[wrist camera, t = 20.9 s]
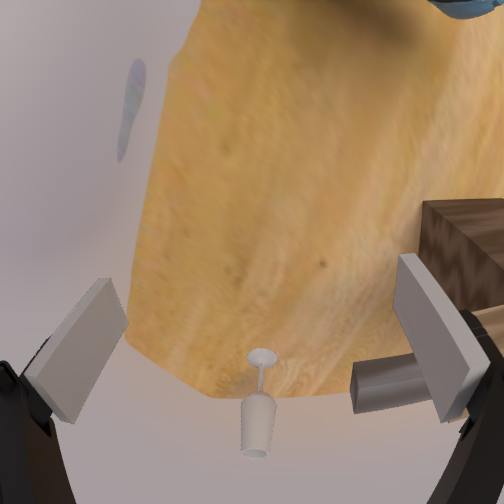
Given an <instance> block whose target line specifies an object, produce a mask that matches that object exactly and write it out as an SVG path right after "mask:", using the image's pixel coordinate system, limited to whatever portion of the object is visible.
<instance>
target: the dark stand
mask: <svg viewBox="0 0 504 504" xmlns="http://www.w3.org/2000/svg"><path fill="white" fill-rule="evenodd" d="M418 258H419V259H420V260H421V262H422V263H423V264H424V265H425V267H426V268H427V269H428V271H429V272H430V273H431V275H432V276H433V277H434V278H435V280H436V281H437V283H438V284H439V285H440V287H441V288H442V289H443V291H444V292H445V293H446V295H447V296H448V298H449V299H450V300H451V302H452V303H453V305H454V306H455V308H456V309H457V311H458V310H463V309H467V310H468V311H470V312H475V311H479V310H484V309H488V308H492V307H497V306H501V305H504V199H503V198H494V199H457V200H431V201H423V212H422V225H421V236H420V246H419V255H418Z"/></svg>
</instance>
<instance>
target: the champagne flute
mask: <svg viewBox="0 0 504 504" xmlns="http://www.w3.org/2000/svg"><path fill="white" fill-rule="evenodd" d="M247 360H248V362H249V363H250V364H251V365H252V366H254V367H257V368H259V372H258V384H257V391H255V392H252V393H250V394H248V395H247V396H246V397H245V398H244V399H243V401H242V403H241V454H242V456H244V457H246V458H249V459H264V458H267V457H268V456H269V451H270V445H271V438H272V432H273V426H274V419H275V413H276V402H275V400H274V399H273V398H272V397H271V396H270V395H269V394H267V393H266V392H264V391H263V381H264V368H269V367H271V366H273V365H274V364H275V363H276V362H277V355H276V354H275V353H274V352H273V351H272V350H270V349H266V348H257V349H254V350H252V351H250V352H249V353H248V355H247Z"/></svg>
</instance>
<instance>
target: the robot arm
mask: <svg viewBox="0 0 504 504" xmlns="http://www.w3.org/2000/svg"><path fill="white" fill-rule="evenodd" d="M427 1H429V2H430V3H432V4H434V5H435V6H436V7H437V8H438V9H439V10H441V11H442V12H443V13H444V14H445V15H447V16H449V17H452V18H454V19H471V18H475V17H479V16H482V15H484V14H487V13H489V12H491V11H493V10H494V8H495V7H496V6H501V5H502V4H503V3H504V0H427ZM393 308H394V310H395V313H396V315H397V317H398V319H399V321H400V323H401V325H402V328H403V330H404V332H405V334H406V336H407V339H408V341H409V343H410V345H411V348H412V350H413V352H414V355H415V357H416V359H417V362H418V364H419V367H420V369H421V372H422V374H423V376H424V379H425V381H426V384H427V387H428V389H429V392H430V394H431V397H432V400H433V402H434V405H435V408H436V411H437V413H438V416H439V419H440V422H441V423H443V422H447V421H450V420H453V419H457V418H460V416H461V415H462V413H463V412H464V410H465V408H467V411H468V413H469V415H470V416H469V417H468V419H467V420H466V422H465V423H464V425H463V426H462V428H461V429H460V431H459V433H461V432H462V433H461V436H460V438H459V441H458V443H457V445H456V448H455V450H454V452H453V454H452V456H451V458H450V460H449V463H448V465H447V467H446V469H445V471H444V473H443V475H442V477H441V479H440V480H439V482H438V484H437V486H436V488H435V490H434V492H433V493H432V495H431V497H430V498H429V501H428V502H427V504H496V503H497V500H498V498H499V496H500V493H501V490H502V488H503V485H504V357H503V355H502V354H501V352H500V351H499V349H498V348H497V346H496V344H495V343H494V341H493V340H492V338H491V337H490V335H488V332H487V331H486V329H485V328H483V325H482V324H481V322H480V321H479V319H478V318H477V317H476V316H475V315H474V314H472V313H471V312H470V311H468V310H467V309H463V310H458V311H457V309H456V308H455V306H454V305H453V303H452V302H451V300H450V299H449V298H448V296H447V295H446V293H445V292H444V291H443V289H442V288H441V287H440V285H439V284H438V283H437V281H436V280H435V278H434V277H433V276H432V275H431V273H430V272H429V271H428V269H427V268H426V267H425V265H424V264H423V263H422V262H421V260H420V259H419V258H418V257H417V255H416V254H415V253H408V254H399V259H398V269H397V278H396V286H395V294H394V301H393ZM128 324H129V322H128V320H127V318H126V315H125V313H124V311H123V308H122V306H121V303H120V301H119V298H118V296H117V293H116V291H115V288H114V286H113V283H112V280H111V278H101V279H98V280H97V281H96V282H95V283H94V284H93V286H92V287H91V288H90V289H89V290H88V291H87V293H86V294H85V295H84V296H83V297H82V298H81V300H80V301H79V302H78V303H77V305H76V306H75V307H74V308H73V309H72V311H71V312H70V313H69V314H68V316H67V317H66V318H65V319H64V321H63V322H62V323H61V324H60V326H59V327H58V328H57V329H56V331H55V332H54V333H53V335H51V336H50V337H49V338H48V339H46V341H45V342H44V343H43V345H42V346H41V347H40V349H39V350H38V351H37V353H36V356H34V357H33V358H32V359H31V361H30V362H29V364H28V365H27V366H26V368H25V369H24V371H23V372H22V373H21V375H20V376H19V377H18V376H17V374H16V373H15V372H14V370H13V369H12V367H11V366H10V364H9V363H8V362H7V361H0V504H76V502H75V498H74V496H73V493H72V490H71V486H70V483H69V480H68V477H67V474H66V470H65V467H64V463H63V459H62V455H61V451H60V447H59V443H58V439H57V434H56V429H55V424H54V421H53V419H52V418H51V417H50V416H51V414H52V412H54V414H55V415H56V416H57V417H58V418H59V419H60V420H61V421H64V422H67V423H71V424H74V423H75V421H76V419H77V417H78V415H79V413H80V411H81V409H82V407H83V405H84V403H85V402H86V399H87V397H88V396H89V394H90V392H91V390H92V388H93V386H94V384H95V382H96V381H97V379H98V377H99V375H100V373H101V371H102V369H103V367H104V366H105V364H106V362H107V360H108V359H109V357H110V355H111V353H112V352H113V350H114V348H115V346H116V344H117V343H118V341H119V339H120V338H121V336H122V334H123V332H124V331H125V329H126V327H127V325H128Z"/></svg>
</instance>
